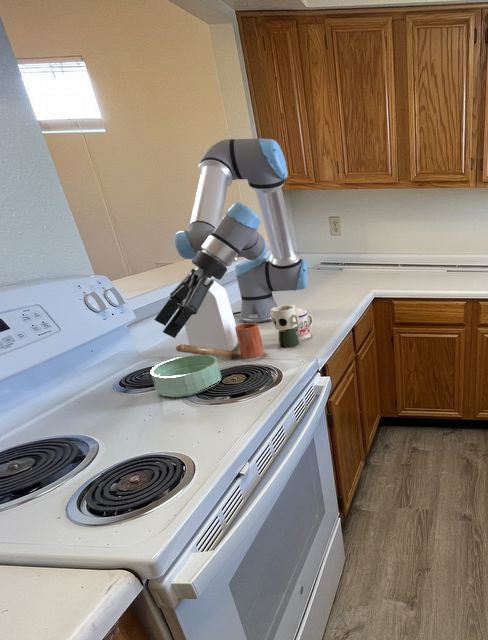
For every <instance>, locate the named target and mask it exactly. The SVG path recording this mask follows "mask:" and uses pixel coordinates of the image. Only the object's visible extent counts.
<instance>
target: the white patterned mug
mask: <svg viewBox="0 0 488 640" xmlns="http://www.w3.org/2000/svg"><path fill="white" fill-rule="evenodd" d="M290 306H294V308H295V313H296V315H298V317H299V325H297V326H296V327H294V329H295V331H296V334H297V337H298V340H299V341H300V340H303V339H307V338H310V337H311V331H310V328H311V327H312V325H313V322H314V318H313V315H312V314H311V313H308V312H307V311H308V310H306V309H304V308H300V307H297V306H296V305H295V304H290ZM308 318H309V319H308Z"/></svg>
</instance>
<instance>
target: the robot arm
mask: <svg viewBox="0 0 488 640" xmlns="http://www.w3.org/2000/svg"><path fill="white" fill-rule="evenodd" d="M197 173H198V176H199V181H198V185H197V189H196V193H195V194H196V195H195V198H194V202H193V203H194V204H193V208H192V212H191V217H190V221H189V225H188V229H187V230H186V229H183V230H179V231H177V232H176V233H175V235H174V245H175V249H176V251H177V253H178V254H179V256H180V257H181V258H182V259H185V260H191V263H192V264H193V265H194V266H196V268H198V269H197V270H195V269H196V268H192V269H190V271H189V272H188V274H187V275H186V276H185V277H184V278H183V279H182V281H181V282H180V283H179V284H178V285H177V286H176V287H175V288H174V289H173V291H172V292H170V294H169V299H168V300H167V301H166V302H165V304H164V305H163V307H162V309H160V311H159V312H158V314H157V316H156V317H155V318H154V321H155V322H157V323H159V324H161V325H162V326H165V328H163V330H162V333H163V334H165V335H167V336H168V337H172V338H173V339H175V338H176V337H177V336H178V335H179V333H180V331H181V330H183V328H184V327H185V323H186V322H187V320H188V319H189V318H190V316H191V315H193V314H194V315H195V314H196V313H197V311H198V309H199V307H200V306H201V304H202V302H203V300H204V298H205V296H206V294H207V292H208V290H209V289H210V287H211V286H212V284H213V283H214V281H215V280H214V279H212V278H215V279H216V280H218V281H219V280H222V279H223V277H224V276H225V274H226V273H227V272H228V267H231V265H232V264H233V263H234V262H237V261H238V258H244V259H246V260H242V261H239V262H237V263H236V264H235V266H234V269H235V271H234V272H235V277H236V281H237V285H238V289H239V295H240V298H241V308H240V311H235V312H232V313H233V316H234V315H240V320H241V322H243V323H257V324H258V323H268V322H272V321H271V316H270V313H271V309H272V308H274V307H278V306H279V305H278V304H277V302H276V300H275V298H274V295H273V292H288V291H294V292H296V291H300V290H305V289H306V288H307V286H308V262H307V260H306V259H305V258H302V256H301V253H299V252H297V250H296V248H295V244H294V243H295V242H294V237H293V234H292V229H291V226H290V220H289V216H288V212H287V207H286V203H285V198H284V194H283V189H282V188H283V186H285V183H286V182H285V179H287V178H288V176H289V175H288V174H289V173H288V167H287V162H286V159H285V155H284V153H283V151H282V148H281V146H280V144H279V143H278V141H276V140H275V139H272V138H262V137H259V138H258V137H257V138H256V137H255V138H225V139H222V140H219V141H217V142H215V143H214V144H212V145H211V146H210V147H208V149H207V150H206V151H205V152H204V154H203V155H202V156H201V158H200V161H199V163H198V168H197ZM235 180H236V181H237V180H246V181H247V183H248V187H249V188H251V189H252V190H254V192H255V195H256V200H257V202H258V206H259V211H260V214H261V217H260V216H259V215H258V214H257V213H256V211H254V210H253V209H252V208H250V207H249V206H247V205H245V204H244V203H242V202H238V201H237V202H234V203H233V204H232V205H231V207H229V209H228V210H226V211H225V213H224V208H225V203H226V198H227V192H228V188H229V187H230V186H231V185H232V184H233V181H235ZM223 213H224V214H223ZM262 222H263V225H264V229H265V233H266V237H267V240H268V243H269V247H270V252H271V255H270V257H269V261H268V260H267V259H266V257H265V256H266V255H267V253H268V245H267V243H266V241H265V239H264V237H263V234H260V232H259V231H258V230H259V229H260V225H261V223H262ZM185 298H186V299H185ZM184 299H185V301H184V304H183V300H184ZM182 305H183V306H182Z"/></svg>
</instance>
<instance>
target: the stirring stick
mask: <svg viewBox="0 0 488 640" xmlns="http://www.w3.org/2000/svg"><path fill="white" fill-rule="evenodd" d="M175 350H176V352H178V353H186V354H191V353H194V354H203V355H211V356H214V357H222V358H230V359H235V358H238V357H239V356H240V353H239V352H238V351H234V350H232V351H227V350H219V349H212V348H205V347H198V346H191V345H189V344H182V343H179V344H177V345H176V346H175Z"/></svg>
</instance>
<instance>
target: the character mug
mask: <svg viewBox="0 0 488 640" xmlns="http://www.w3.org/2000/svg"><path fill="white" fill-rule="evenodd" d="M290 305H291V304H290ZM290 305H277V306H278V307H274V308H272V309H271V313H270V316H271V321H270V322H272V325H273V327H274V328H275V329H276V330H277V331H278V346H279V348H284V349H291V348H294V347H297V346H298V345H300V340H298V337H297V334H296V331H295V329H294V327H296V326H297V325H299V317H298V315H296V313H295V308H294V306H290Z"/></svg>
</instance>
